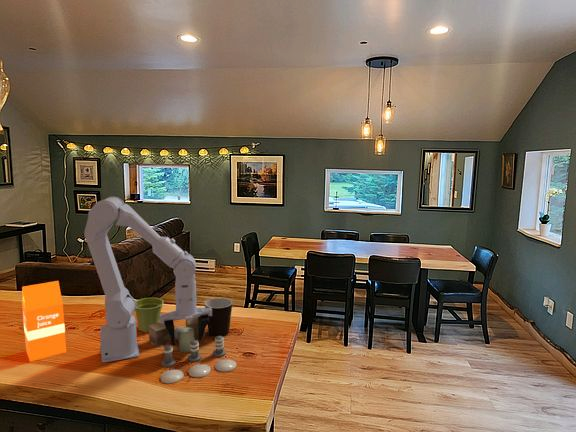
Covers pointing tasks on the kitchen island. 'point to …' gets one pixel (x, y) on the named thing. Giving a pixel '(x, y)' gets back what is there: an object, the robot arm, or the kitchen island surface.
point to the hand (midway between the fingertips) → (187, 342)
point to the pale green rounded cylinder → (185, 339)
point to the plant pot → (148, 312)
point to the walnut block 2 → (194, 326)
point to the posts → (193, 352)
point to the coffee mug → (219, 316)
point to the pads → (197, 371)
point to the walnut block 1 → (159, 334)
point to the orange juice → (43, 320)
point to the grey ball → (177, 332)
